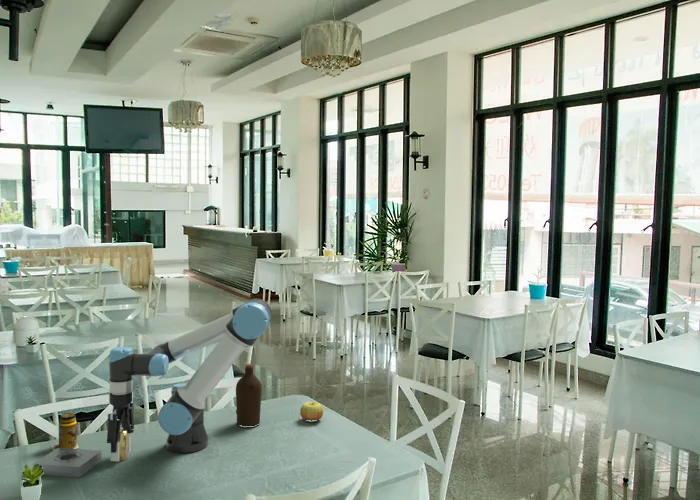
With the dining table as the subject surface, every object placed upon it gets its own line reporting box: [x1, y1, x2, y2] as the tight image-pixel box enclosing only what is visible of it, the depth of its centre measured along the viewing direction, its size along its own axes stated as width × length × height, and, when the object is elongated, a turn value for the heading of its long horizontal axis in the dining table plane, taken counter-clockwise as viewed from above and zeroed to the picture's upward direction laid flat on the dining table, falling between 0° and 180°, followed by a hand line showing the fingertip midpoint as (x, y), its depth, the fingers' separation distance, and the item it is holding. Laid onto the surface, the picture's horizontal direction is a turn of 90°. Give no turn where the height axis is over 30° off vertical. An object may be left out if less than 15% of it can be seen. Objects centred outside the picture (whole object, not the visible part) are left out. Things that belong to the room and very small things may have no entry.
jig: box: [32, 448, 103, 478], centre depth 203 cm, size 16×14×4 cm
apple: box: [299, 401, 324, 421], centre depth 255 cm, size 10×10×8 cm
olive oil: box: [235, 363, 263, 426], centre depth 248 cm, size 11×11×25 cm
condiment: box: [50, 412, 80, 451], centre depth 220 cm, size 7×8×12 cm
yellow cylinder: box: [116, 428, 128, 463], centre depth 211 cm, size 4×4×10 cm
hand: (120, 455), depth 211 cm, fingers open, 8 cm apart
